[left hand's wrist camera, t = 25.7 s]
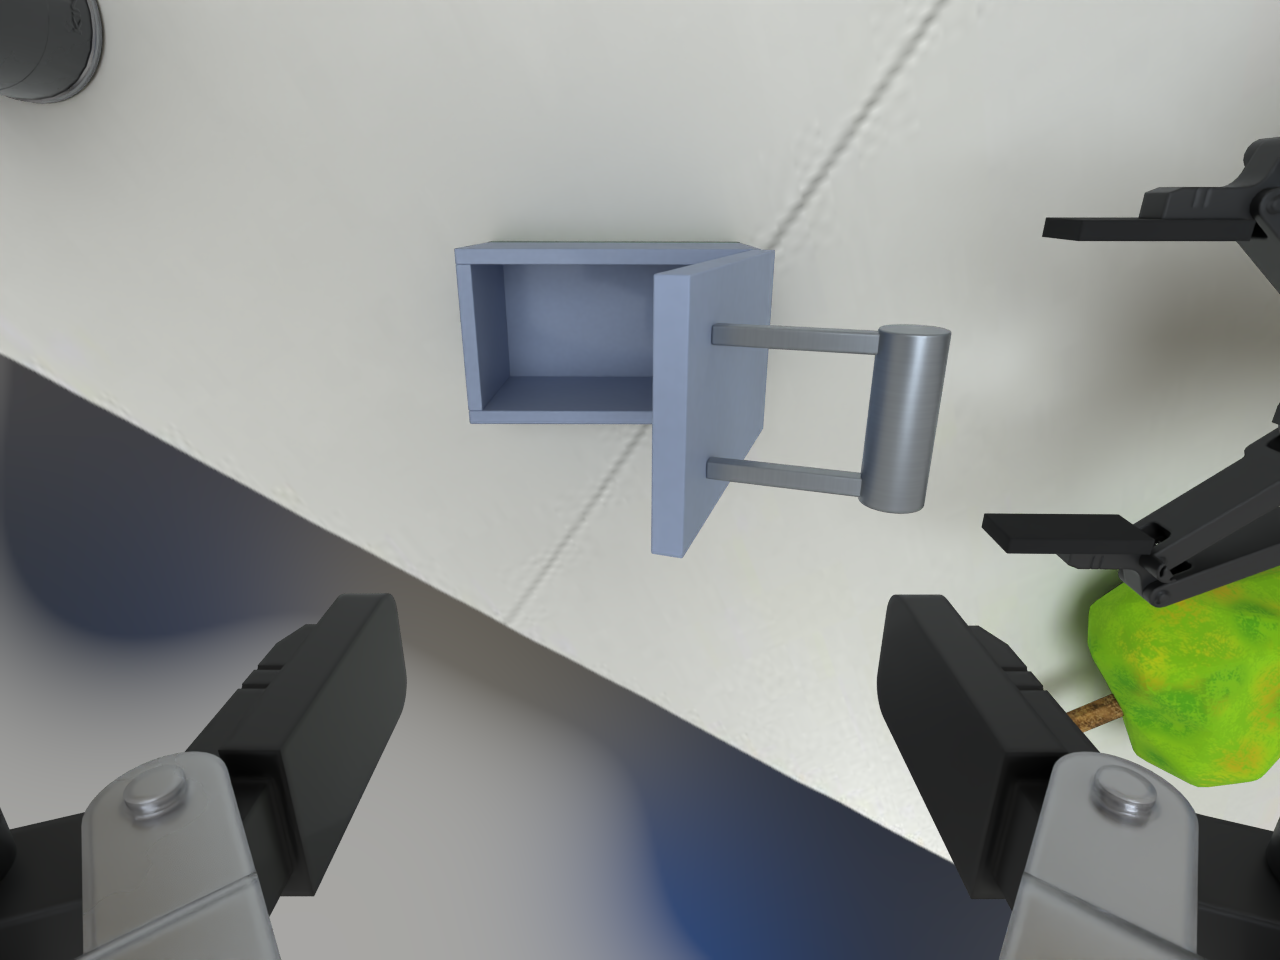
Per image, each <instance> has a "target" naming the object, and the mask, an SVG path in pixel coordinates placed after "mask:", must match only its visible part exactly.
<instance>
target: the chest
mask: <svg viewBox="0 0 1280 960" xmlns="http://www.w3.org/2000/svg"><path fill="white" fill-rule="evenodd" d="M454 250H455V261H456V273H457V284H458V295H459V307H460V318H461V329H462V341H463V352H464V363H465V375H466V386H467V397H468V409H469V410H470V411H469V418H470V423H471V424H652V410H653V293H654V274H657V273H661V272H665V271H669V270H673V269H677V268H681V267H685V266H689V265H693V264H697V263H702V262H706V261H710V260H714V259H718V258H722V257H726V256H730V255H734V254H738V253H742V252H746V251H750V250H761V249H758V248H755V247H752V246H748V245H745V244H742V243H739V242H546V241H491V242H487V243H482V244H477V245H471V246H466V247H461V248H455V249H454Z"/></svg>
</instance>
